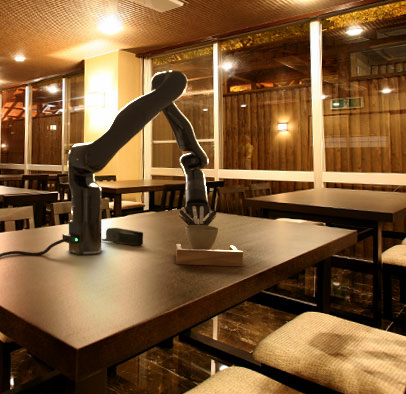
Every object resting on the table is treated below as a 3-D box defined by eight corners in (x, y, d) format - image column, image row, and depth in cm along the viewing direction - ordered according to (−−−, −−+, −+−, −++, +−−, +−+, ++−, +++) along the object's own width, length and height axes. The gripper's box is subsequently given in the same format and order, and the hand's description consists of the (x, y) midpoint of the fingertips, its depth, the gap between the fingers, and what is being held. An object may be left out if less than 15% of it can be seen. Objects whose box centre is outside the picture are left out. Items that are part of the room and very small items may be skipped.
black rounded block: (144, 230, 132) (105, 225, 140) (140, 232, 129) (101, 227, 137) (143, 245, 132) (105, 239, 140) (140, 247, 130) (100, 241, 138)
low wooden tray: (242, 266, 105) (243, 251, 105) (176, 264, 108) (176, 249, 107) (234, 257, 115) (235, 243, 115) (174, 255, 118) (174, 242, 117)
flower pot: (219, 254, 119) (219, 230, 118) (185, 252, 121) (185, 229, 120) (215, 247, 129) (216, 225, 128) (184, 245, 131) (185, 224, 130)
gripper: (177, 187, 139) (179, 228, 128) (216, 188, 137) (221, 229, 126) (176, 201, 144) (178, 241, 134) (213, 201, 143) (218, 242, 132)
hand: (199, 235), depth 130 cm, fingers closed
